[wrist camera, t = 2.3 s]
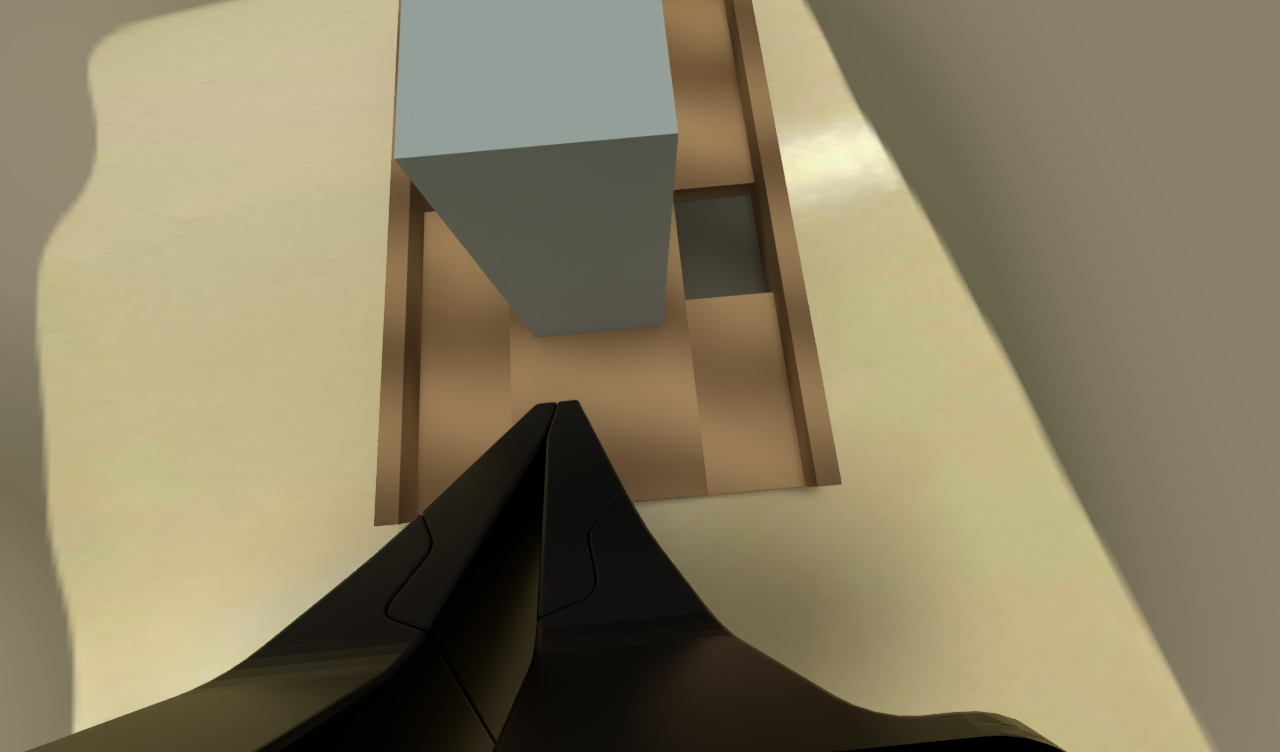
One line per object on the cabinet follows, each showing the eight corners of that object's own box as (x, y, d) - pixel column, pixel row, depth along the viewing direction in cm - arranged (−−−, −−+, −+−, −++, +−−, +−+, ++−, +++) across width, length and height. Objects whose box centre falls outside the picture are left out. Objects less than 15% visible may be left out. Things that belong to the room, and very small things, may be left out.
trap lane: (817, 483, 17) (867, 484, 13) (408, 520, 17) (337, 532, 13) (732, -5, 23) (749, -106, 19) (423, 23, 23) (376, -73, 19)
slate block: (662, 326, 18) (678, 133, 8) (535, 337, 18) (393, 159, 8) (644, 151, 19) (639, -180, 10) (529, 161, 19) (408, -159, 10)
